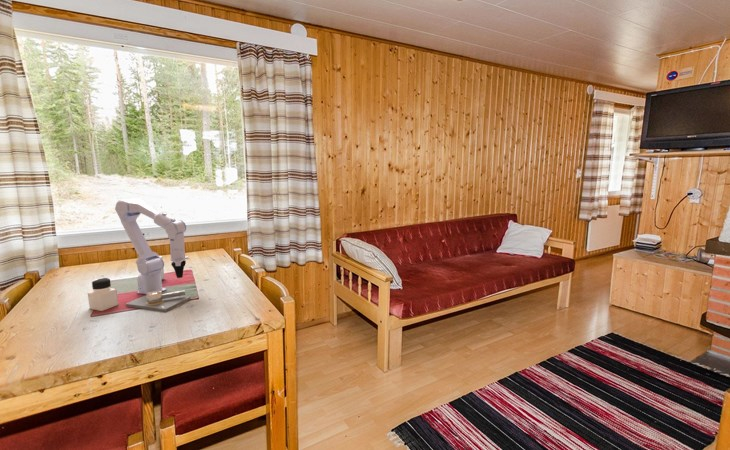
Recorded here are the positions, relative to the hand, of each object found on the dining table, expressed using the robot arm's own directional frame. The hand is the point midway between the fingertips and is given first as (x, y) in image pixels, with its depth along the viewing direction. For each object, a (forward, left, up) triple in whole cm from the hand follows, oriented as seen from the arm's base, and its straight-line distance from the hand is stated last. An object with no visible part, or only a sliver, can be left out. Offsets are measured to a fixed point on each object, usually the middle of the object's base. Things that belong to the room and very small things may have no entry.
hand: (179, 277), depth 161 cm
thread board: (-2, -10, -8) cm, 13 cm away
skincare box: (-27, +14, -9) cm, 32 cm away
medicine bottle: (-20, -20, -9) cm, 30 cm away
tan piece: (+1, -9, -7) cm, 11 cm away
